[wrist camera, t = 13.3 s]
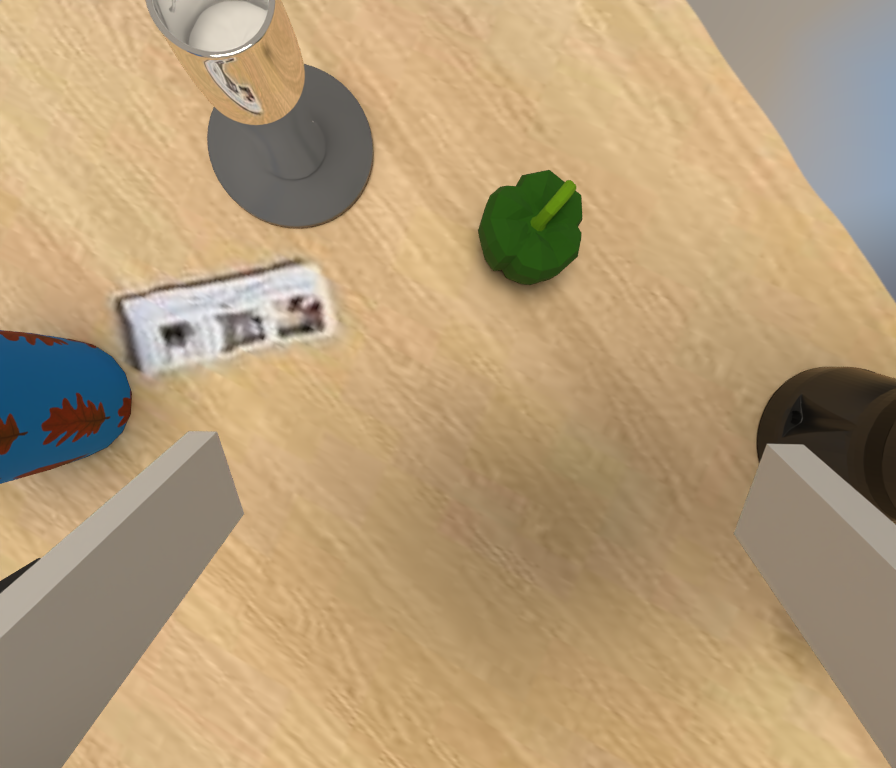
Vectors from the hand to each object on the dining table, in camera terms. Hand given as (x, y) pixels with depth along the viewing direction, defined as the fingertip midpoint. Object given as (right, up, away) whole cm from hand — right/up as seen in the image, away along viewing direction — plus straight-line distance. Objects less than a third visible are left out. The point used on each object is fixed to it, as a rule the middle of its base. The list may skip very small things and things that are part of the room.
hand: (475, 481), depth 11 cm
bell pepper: (+6, +15, +29) cm, 34 cm away
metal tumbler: (-14, +23, +26) cm, 38 cm away
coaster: (-14, +23, +27) cm, 39 cm away
